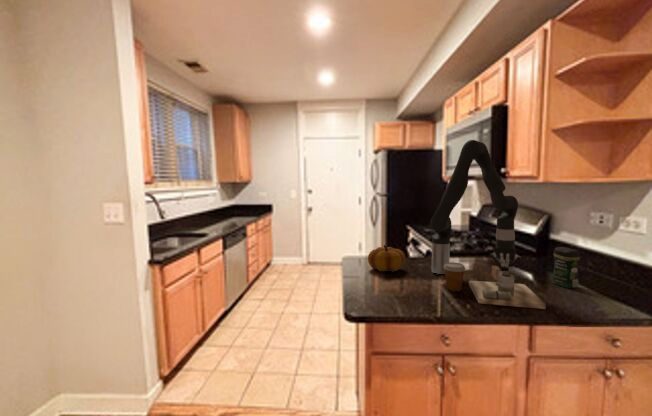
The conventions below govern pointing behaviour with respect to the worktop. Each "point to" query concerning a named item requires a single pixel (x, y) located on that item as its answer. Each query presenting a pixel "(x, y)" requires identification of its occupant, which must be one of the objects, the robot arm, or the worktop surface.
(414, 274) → the worktop surface
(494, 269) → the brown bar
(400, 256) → the decorative pumpkin
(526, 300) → the level stand
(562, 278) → the coffee jar
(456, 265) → the disposable coffee cup
